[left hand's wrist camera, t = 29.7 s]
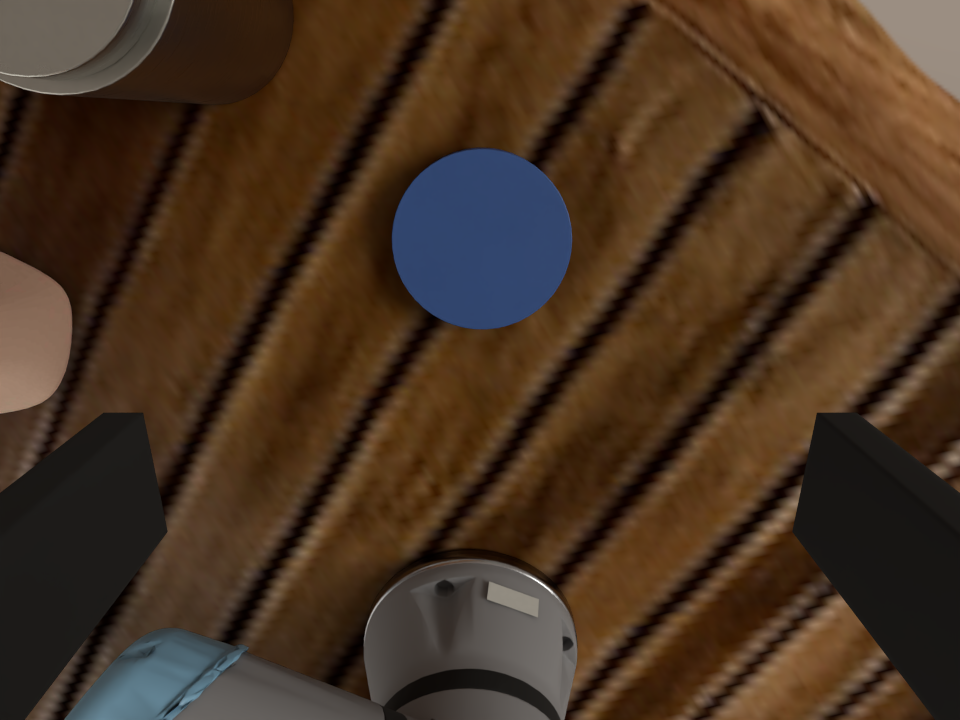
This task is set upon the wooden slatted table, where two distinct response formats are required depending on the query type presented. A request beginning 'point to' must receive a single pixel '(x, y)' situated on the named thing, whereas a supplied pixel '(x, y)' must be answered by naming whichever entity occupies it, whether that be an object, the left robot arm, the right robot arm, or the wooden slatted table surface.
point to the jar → (144, 47)
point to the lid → (481, 238)
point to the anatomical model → (31, 335)
